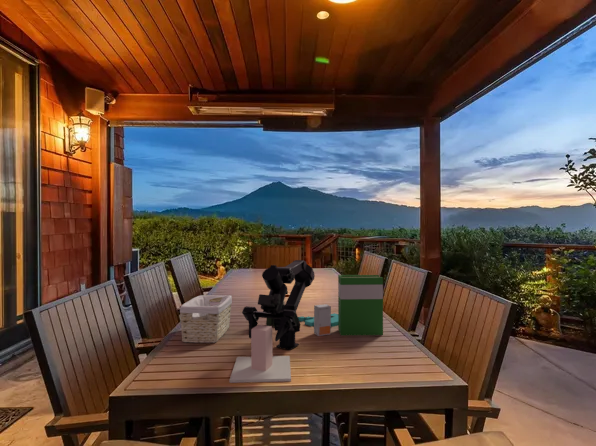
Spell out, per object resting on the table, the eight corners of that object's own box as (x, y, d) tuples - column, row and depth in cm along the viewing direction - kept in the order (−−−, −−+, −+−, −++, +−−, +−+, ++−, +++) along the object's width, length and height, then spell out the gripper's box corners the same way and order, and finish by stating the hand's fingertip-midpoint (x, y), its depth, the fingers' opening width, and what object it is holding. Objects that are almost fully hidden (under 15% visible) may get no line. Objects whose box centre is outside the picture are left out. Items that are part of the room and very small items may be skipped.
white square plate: (237, 359, 122) (237, 356, 122) (289, 358, 122) (289, 355, 122) (229, 382, 104) (229, 379, 104) (291, 381, 104) (291, 378, 104)
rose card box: (258, 362, 116) (258, 324, 116) (272, 365, 114) (272, 326, 114) (251, 368, 111) (251, 329, 111) (265, 371, 110) (265, 330, 110)
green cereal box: (378, 329, 155) (378, 274, 155) (383, 335, 148) (382, 277, 148) (338, 330, 155) (338, 275, 155) (340, 335, 147) (340, 277, 147)
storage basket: (198, 326, 161) (198, 294, 161) (233, 326, 160) (233, 294, 160) (178, 344, 137) (178, 306, 137) (219, 345, 136) (219, 306, 136)
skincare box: (318, 336, 146) (318, 307, 146) (313, 333, 150) (313, 305, 150) (331, 334, 148) (331, 306, 148) (326, 331, 152) (326, 303, 152)
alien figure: (292, 321, 170) (321, 330, 155) (292, 316, 170) (321, 325, 155) (321, 314, 183) (351, 322, 168) (321, 310, 183) (351, 317, 168)
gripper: (244, 282, 121) (227, 323, 111) (295, 285, 115) (282, 329, 105) (255, 300, 129) (240, 340, 119) (303, 304, 123) (292, 347, 112)
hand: (262, 339), depth 113 cm, fingers open, 9 cm apart
